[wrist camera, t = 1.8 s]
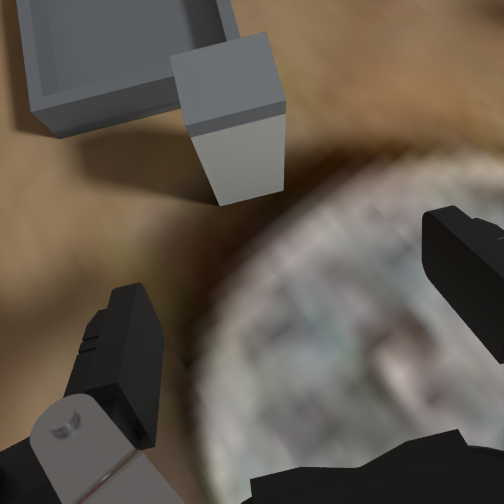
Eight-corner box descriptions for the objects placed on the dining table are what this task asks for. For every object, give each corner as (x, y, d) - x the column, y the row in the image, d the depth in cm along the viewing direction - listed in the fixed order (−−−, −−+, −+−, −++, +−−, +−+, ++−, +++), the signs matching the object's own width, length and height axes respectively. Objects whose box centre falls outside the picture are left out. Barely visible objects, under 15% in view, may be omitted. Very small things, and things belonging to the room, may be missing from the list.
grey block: (219, 206, 32) (185, 125, 20) (208, 159, 33) (169, 55, 21) (283, 190, 32) (285, 100, 20) (270, 144, 32) (265, 31, 21)
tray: (59, 138, 34) (30, 112, 30) (34, -36, 38) (5, -79, 34) (249, 90, 34) (245, 57, 30) (203, -79, 38) (194, -128, 34)
